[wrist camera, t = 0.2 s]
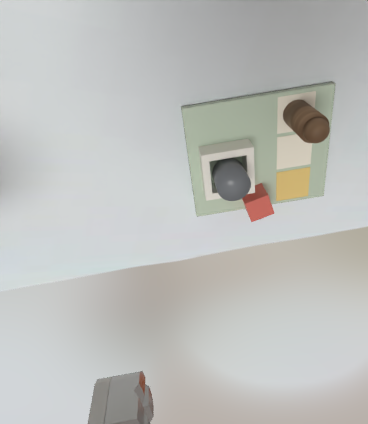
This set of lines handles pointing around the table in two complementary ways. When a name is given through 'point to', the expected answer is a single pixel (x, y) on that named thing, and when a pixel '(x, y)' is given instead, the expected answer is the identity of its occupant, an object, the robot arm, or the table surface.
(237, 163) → the dome
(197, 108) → the board
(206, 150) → the housing
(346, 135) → the table surface
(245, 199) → the red cube
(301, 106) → the pawn
